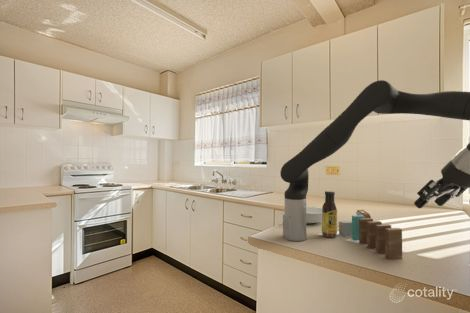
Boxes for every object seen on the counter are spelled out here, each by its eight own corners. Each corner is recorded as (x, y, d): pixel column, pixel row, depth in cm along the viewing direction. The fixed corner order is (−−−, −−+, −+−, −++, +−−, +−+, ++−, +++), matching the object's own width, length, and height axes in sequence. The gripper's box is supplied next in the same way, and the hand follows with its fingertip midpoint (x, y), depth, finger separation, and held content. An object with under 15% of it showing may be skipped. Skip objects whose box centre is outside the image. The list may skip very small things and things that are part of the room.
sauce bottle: (330, 239, 97) (329, 192, 98) (318, 235, 103) (318, 191, 103) (340, 236, 100) (340, 191, 101) (328, 232, 106) (328, 190, 106)
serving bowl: (331, 227, 114) (331, 214, 114) (288, 226, 117) (288, 212, 117) (322, 217, 135) (322, 205, 135) (286, 216, 138) (285, 204, 138)
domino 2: (373, 243, 92) (372, 219, 92) (361, 244, 91) (361, 219, 91) (370, 242, 93) (370, 218, 94) (359, 242, 93) (358, 218, 93)
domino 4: (391, 253, 83) (391, 225, 83) (379, 253, 82) (378, 225, 82) (388, 251, 84) (387, 224, 84) (375, 251, 84) (375, 224, 84)
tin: (373, 233, 106) (373, 214, 106) (365, 232, 106) (365, 214, 106) (362, 224, 120) (361, 208, 121) (355, 223, 121) (355, 208, 121)
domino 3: (381, 248, 87) (381, 222, 87) (369, 248, 87) (369, 222, 87) (378, 246, 89) (378, 220, 89) (367, 247, 88) (366, 221, 88)
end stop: (361, 235, 102) (361, 222, 102) (342, 236, 101) (342, 222, 101) (357, 233, 105) (357, 220, 105) (339, 234, 104) (338, 221, 104)
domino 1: (365, 239, 96) (365, 216, 97) (354, 240, 96) (354, 216, 96) (362, 238, 98) (362, 215, 98) (352, 239, 97) (351, 215, 98)
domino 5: (402, 258, 78) (401, 229, 78) (389, 259, 78) (388, 229, 78) (398, 256, 80) (398, 227, 80) (385, 257, 79) (385, 228, 79)
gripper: (473, 156, 65) (433, 194, 75) (436, 157, 61) (400, 197, 72) (501, 175, 60) (454, 212, 70) (463, 177, 56) (419, 217, 66)
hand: (427, 204), depth 71 cm, fingers open, 8 cm apart
